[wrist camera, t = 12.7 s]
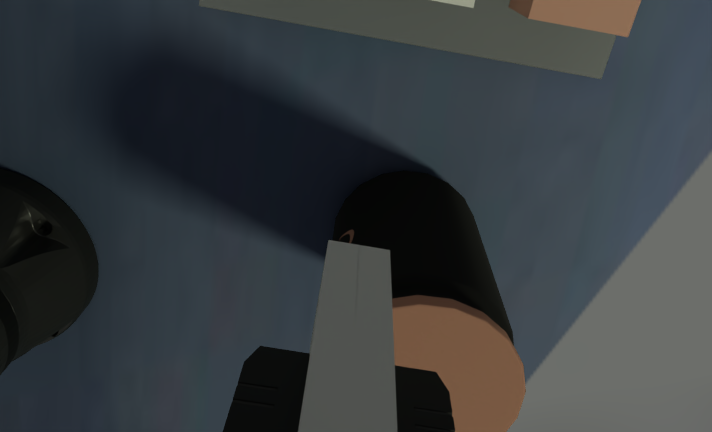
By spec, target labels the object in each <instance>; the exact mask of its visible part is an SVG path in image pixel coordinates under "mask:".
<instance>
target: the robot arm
mask: <svg viewBox="0 0 712 432" xmlns="http://www.w3.org/2000/svg"><path fill="white" fill-rule="evenodd" d="M97 282H98V260H97V255H96V251H95V248H94V245H93V243H92V240H91V238H90V236H89V234H88V232H87V230H86V228H85V227H84V225H83V224H82V222H81V221H80V219H79V218H78V217H77V216H76V214H75V213H74V212H73V211H72V210H71V209H70V208H69V207H68V206H67V205H66V204H65V203H64V202H63V201H62V200H61V199H60V198H59V197H57V196H56V195H55V194H54V193H52V192H51V191H49V190H48V189H47V188H45V187H43V186H42V185H40V184H38V183H36V182H35V181H33V180H31V179H29V178H26V177H24V176H22V175H19V174H17V173H14V172H11V171H7V170H3V169H0V375H1V373H2V372H3V371H4V370H5V369H6V368H7V366H8V365H9V364H10V363H11V362H12V361H14V360H15V359H17V358H19V357H20V356H22V355H24V354H25V353H27V352H28V351H29V350H31V349H32V348H34V347H35V346H37V345H40V344H42V343H45V342H47V341H49V340H51V339H53V338H55V337H57V336H58V335H60V334H61V333H63V332H64V331H65V330H67V329H68V328H69V327H70V326H71V325H72V324H73V323H74V322H75V321H76V320H77V318H78V317H79V316H80V315H81V313H82V312H83V311H84V309H85V308H86V307H87V306H88V304H89V303H90V301H91V299H92V297H93V295H94V293H95V290H96V287H97ZM223 432H455V425H454V419H453V417H452V406H451V400H450V393H449V391H448V389H447V388H446V386H445V385H444V383H443V381H442V380H441V378H440V377H439V375H438V374H437V372H434V371H428V370H421V369H415V368H408V367H402V366H396V365H395V360H394V336H393V311H392V286H391V262H390V250H386V249H380V248H374V247H368V246H362V245H356V244H350V243H344V242H338V241H332V240H328V246H327V251H326V257H325V263H324V269H323V275H322V281H321V287H320V292H319V298H318V304H317V310H316V316H315V322H314V327H313V333H312V340H311V346H310V352H309V353H302V352H296V351H289V350H283V349H277V348H270V347H264V346H260V347H259V348H258V349H257V350H256V351H255V352H254V353H253V354H252V355H251V356H250V357H249V358H248V359H247V360H246V361H244V365H243V368H242V371H241V374H240V378H239V381H238V385H237V387H236V391H235V394H234V397H233V402H232V404H231V407H230V410H229V413H228V417H227V420H226V423H225V426H224V430H223Z"/></svg>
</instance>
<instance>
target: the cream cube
mask: <svg viewBox="0 0 712 432" xmlns="http://www.w3.org/2000/svg"><path fill="white" fill-rule="evenodd" d="M432 1H438V2H443V3H449V4H454V5H459V6H465V7H470V8H473V7H474V3H475V0H432Z"/></svg>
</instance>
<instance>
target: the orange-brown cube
mask: <svg viewBox="0 0 712 432" xmlns="http://www.w3.org/2000/svg"><path fill="white" fill-rule="evenodd" d="M640 2H641V0H510V3H509V6H508V7H509V8H511V9H512V10H514V11H516V12H518V13H519V14H521V15H523V16H525V17H526V18H528V19H533V20H539V21H544V22H549V23H555V24H560V25H565V26H571V27H576V28H582V29H587V30H592V31H598V32H603V33H609V34H614V35H619V36H625V37H628V35H629V33H630V30H631V27H632V24H633V22H634V19H635V16H636V13H637V10H638V8H639V5H640Z"/></svg>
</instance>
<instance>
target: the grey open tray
mask: <svg viewBox="0 0 712 432" xmlns="http://www.w3.org/2000/svg"><path fill="white" fill-rule="evenodd" d="M509 3H510V0H475V3H474V7H473V8H470V7H465V6H459V5H454V4H449V3H443V2H438V1H432V0H199V6H203V7H208V8H214V9H219V10H225V11H230V12H236V13H241V14H247V15H252V16H258V17H263V18H269V19H274V20H279V21H285V22H290V23H296V24H301V25H307V26H312V27H318V28H323V29H329V30H334V31H340V32H345V33H351V34H356V35H362V36H367V37H373V38H378V39H384V40H389V41H395V42H400V43H406V44H411V45H417V46H422V47H428V48H433V49H439V50H444V51H450V52H455V53H461V54H466V55H472V56H477V57H483V58H488V59H494V60H499V61H505V62H510V63H516V64H521V65H527V66H532V67H538V68H543V69H549V70H554V71H560V72H565V73H571V74H576V75H582V76H587V77H593V78H598V79H601V78H602V75H603V72H604V70H605V67H606V64H607V61H608V58H609V55H610V53H611V50H612V47H613V44H614V41H615V38H616V35H614V34H609V33H603V32H598V31H592V30H587V29H582V28H576V27H571V26H565V25H560V24H555V23H549V22H544V21H539V20H533V19H528V18H526V17H525V16H523V15H521V14H519V13H518V12H516V11H514V10H512V9H511V8H509V7H508V6H509Z"/></svg>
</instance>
